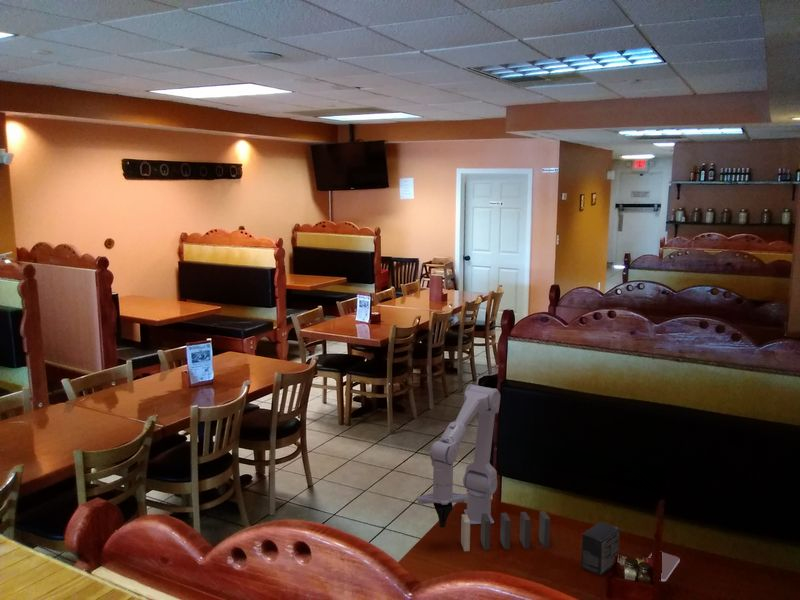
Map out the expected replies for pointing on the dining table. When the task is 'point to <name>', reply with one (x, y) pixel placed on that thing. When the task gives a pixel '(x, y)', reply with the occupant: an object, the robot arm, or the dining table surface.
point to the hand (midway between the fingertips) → (442, 525)
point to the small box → (600, 547)
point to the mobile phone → (667, 565)
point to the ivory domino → (465, 532)
